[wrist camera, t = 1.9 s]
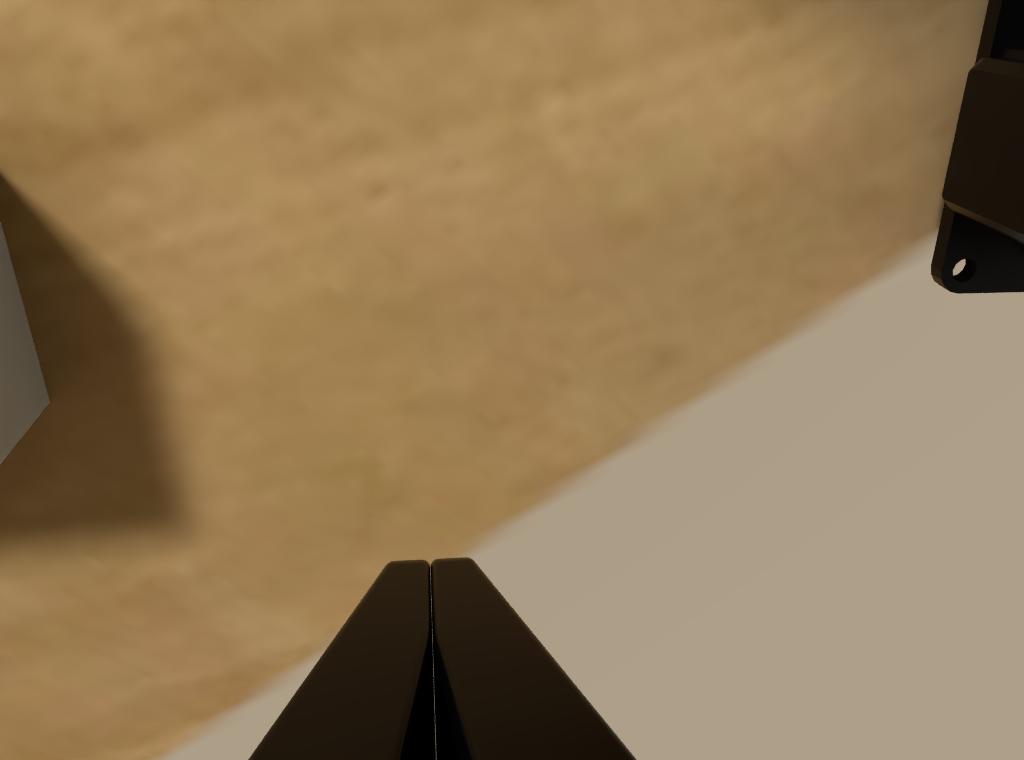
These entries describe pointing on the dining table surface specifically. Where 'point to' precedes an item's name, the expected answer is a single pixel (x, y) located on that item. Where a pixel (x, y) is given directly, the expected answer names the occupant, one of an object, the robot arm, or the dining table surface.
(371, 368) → the dining table surface
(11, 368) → the light grey block
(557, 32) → the dining table surface
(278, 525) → the dining table surface
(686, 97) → the dining table surface
